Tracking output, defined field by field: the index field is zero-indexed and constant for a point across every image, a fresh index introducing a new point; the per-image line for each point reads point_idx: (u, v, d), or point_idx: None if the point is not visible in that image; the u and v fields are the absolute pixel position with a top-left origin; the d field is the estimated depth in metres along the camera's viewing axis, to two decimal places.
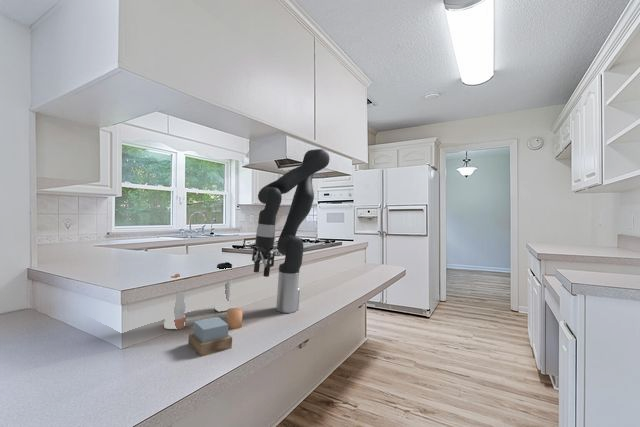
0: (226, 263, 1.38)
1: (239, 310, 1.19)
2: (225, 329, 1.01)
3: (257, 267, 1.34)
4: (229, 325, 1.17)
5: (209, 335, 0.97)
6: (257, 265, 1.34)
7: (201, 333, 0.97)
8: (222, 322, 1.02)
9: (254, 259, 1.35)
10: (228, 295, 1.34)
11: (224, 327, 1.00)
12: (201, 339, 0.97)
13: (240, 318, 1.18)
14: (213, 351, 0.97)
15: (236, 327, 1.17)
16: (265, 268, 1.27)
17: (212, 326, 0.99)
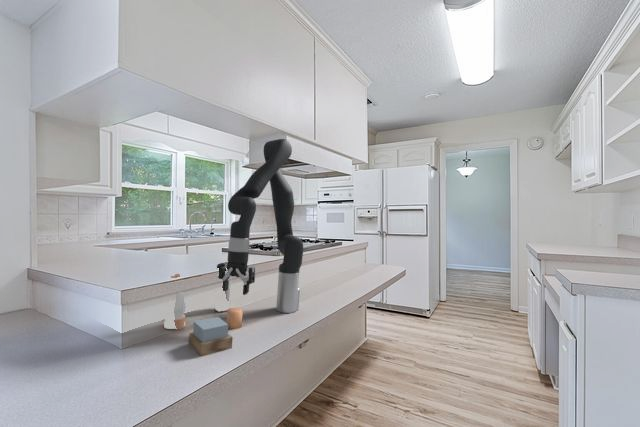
0: (226, 263, 1.38)
1: (239, 310, 1.19)
2: (225, 329, 1.00)
3: None
4: (229, 325, 1.17)
5: (209, 335, 0.97)
6: None
7: (200, 333, 0.97)
8: (222, 322, 1.02)
9: None
10: (228, 295, 1.34)
11: (223, 327, 1.00)
12: (201, 339, 0.97)
13: (240, 318, 1.18)
14: (213, 351, 0.97)
15: (236, 327, 1.17)
16: None
17: (212, 326, 0.99)
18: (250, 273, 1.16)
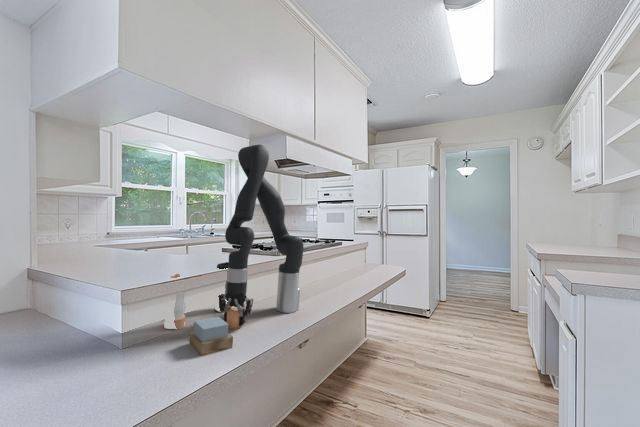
0: (226, 263, 1.38)
1: None
2: (225, 329, 1.00)
3: None
4: (229, 325, 1.17)
5: (209, 335, 0.97)
6: None
7: (200, 333, 0.97)
8: (222, 322, 1.02)
9: None
10: None
11: (224, 326, 1.00)
12: (201, 339, 0.97)
13: None
14: (214, 350, 0.97)
15: (236, 327, 1.17)
16: None
17: (212, 326, 0.99)
18: (247, 306, 1.16)
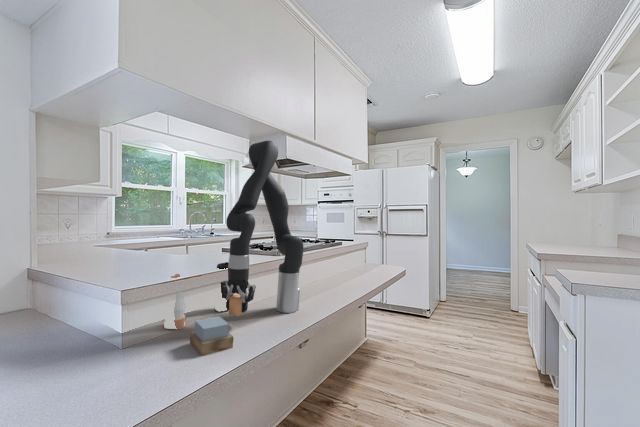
0: (226, 263, 1.38)
1: None
2: (225, 329, 1.01)
3: None
4: (232, 312, 1.16)
5: (209, 335, 0.97)
6: None
7: (201, 332, 0.97)
8: (223, 322, 1.03)
9: None
10: None
11: (224, 326, 1.00)
12: (201, 338, 0.97)
13: None
14: (214, 350, 0.98)
15: (239, 313, 1.17)
16: None
17: (212, 325, 0.99)
18: (250, 292, 1.16)
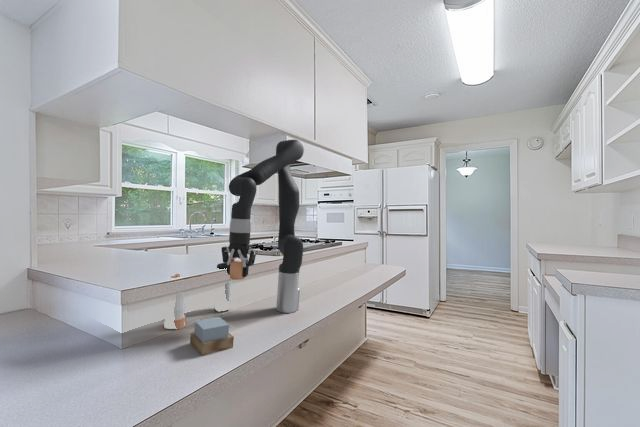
0: None
1: None
2: (225, 329, 1.00)
3: None
4: (232, 276, 1.16)
5: (209, 335, 0.97)
6: None
7: (201, 333, 0.97)
8: (223, 322, 1.02)
9: None
10: (228, 295, 1.34)
11: (224, 327, 1.00)
12: (201, 339, 0.97)
13: None
14: (215, 350, 0.98)
15: (239, 278, 1.16)
16: None
17: (212, 326, 0.99)
18: (251, 256, 1.16)
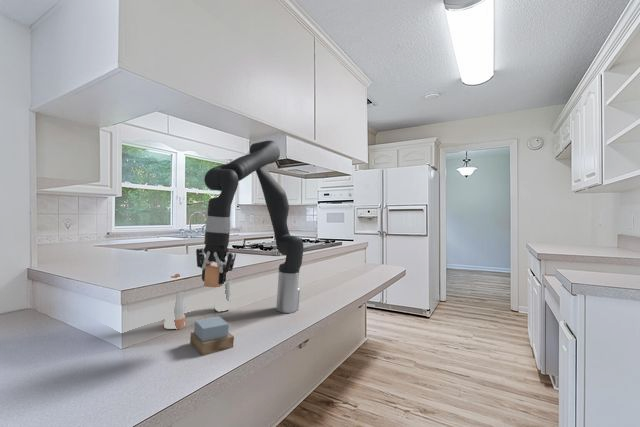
0: None
1: None
2: (225, 329, 1.00)
3: None
4: (207, 282, 1.00)
5: (208, 335, 0.97)
6: None
7: (200, 332, 0.98)
8: (222, 321, 1.03)
9: None
10: (228, 295, 1.34)
11: (224, 326, 1.00)
12: (201, 338, 0.97)
13: None
14: (215, 350, 0.98)
15: (215, 285, 1.00)
16: None
17: (212, 325, 0.99)
18: (229, 260, 0.99)
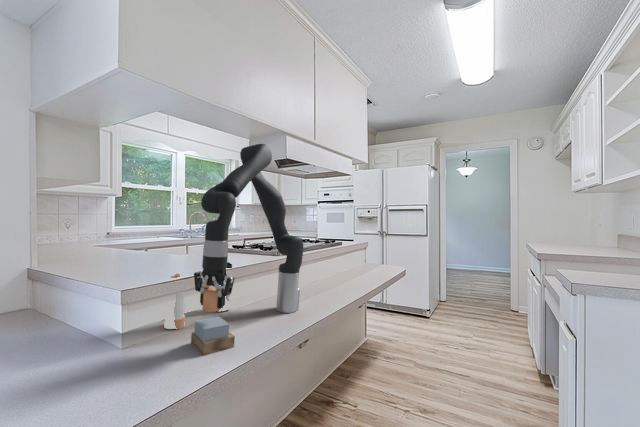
0: None
1: None
2: (226, 329, 1.01)
3: None
4: (205, 307, 0.99)
5: (209, 335, 0.97)
6: None
7: (201, 333, 0.97)
8: (223, 322, 1.03)
9: None
10: (228, 295, 1.34)
11: (224, 326, 1.00)
12: (201, 338, 0.97)
13: None
14: (216, 350, 0.98)
15: (214, 310, 0.99)
16: None
17: (213, 326, 0.99)
18: (227, 284, 0.98)
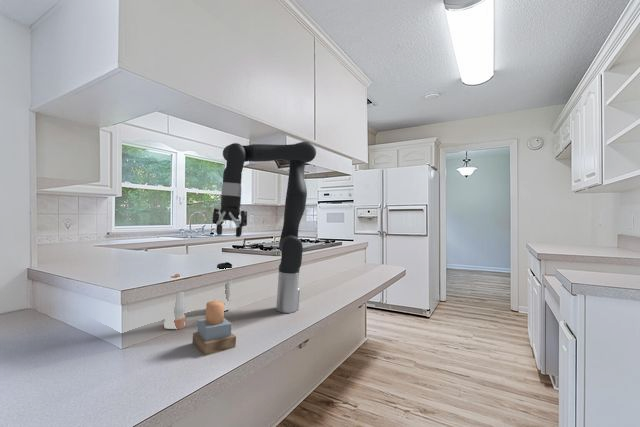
0: (226, 263, 1.38)
1: (220, 303, 1.03)
2: (228, 328, 1.01)
3: None
4: (208, 320, 1.00)
5: (212, 334, 0.98)
6: None
7: (204, 332, 0.98)
8: (225, 321, 1.04)
9: None
10: (228, 295, 1.34)
11: (227, 325, 1.01)
12: (204, 337, 0.98)
13: (221, 312, 1.01)
14: (217, 350, 0.98)
15: (216, 323, 1.00)
16: None
17: (215, 325, 1.00)
18: (242, 216, 1.22)
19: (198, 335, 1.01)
